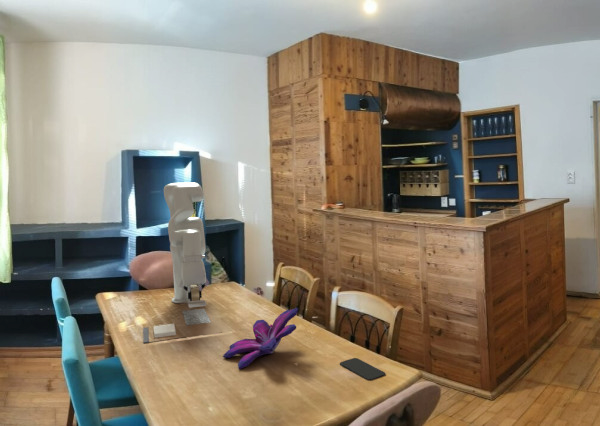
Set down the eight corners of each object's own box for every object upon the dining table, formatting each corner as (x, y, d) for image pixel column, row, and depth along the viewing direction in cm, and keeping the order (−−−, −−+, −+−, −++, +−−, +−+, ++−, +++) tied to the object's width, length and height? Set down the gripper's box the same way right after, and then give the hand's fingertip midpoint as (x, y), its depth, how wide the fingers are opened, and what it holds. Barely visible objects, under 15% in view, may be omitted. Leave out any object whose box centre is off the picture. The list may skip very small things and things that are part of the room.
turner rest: (182, 313, 207) (182, 311, 207) (204, 310, 211) (203, 308, 211) (186, 327, 187) (186, 325, 187) (210, 324, 190) (210, 322, 190)
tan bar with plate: (185, 297, 204) (184, 284, 204) (200, 296, 206) (200, 283, 206) (189, 307, 187) (188, 293, 187) (206, 305, 189) (205, 291, 189)
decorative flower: (240, 395, 138) (224, 368, 137) (229, 363, 167) (216, 341, 166) (323, 341, 145) (309, 315, 144) (299, 320, 175) (287, 298, 173)
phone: (368, 380, 133) (338, 362, 146) (368, 382, 133) (338, 365, 146) (387, 373, 137) (355, 357, 150) (387, 376, 137) (355, 359, 150)
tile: (153, 326, 182) (154, 334, 173) (173, 323, 185) (175, 331, 175) (153, 331, 182) (154, 339, 173) (174, 328, 185) (175, 336, 175)
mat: (143, 328, 187) (143, 327, 187) (182, 323, 192) (182, 322, 192) (143, 343, 170) (143, 342, 170) (186, 337, 175) (186, 336, 175)
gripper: (210, 255, 203) (212, 295, 204) (173, 259, 197) (175, 300, 199) (212, 258, 196) (214, 299, 197) (174, 261, 190) (176, 304, 192)
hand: (195, 299), depth 198 cm, fingers closed on tan bar with plate, 3 cm apart
